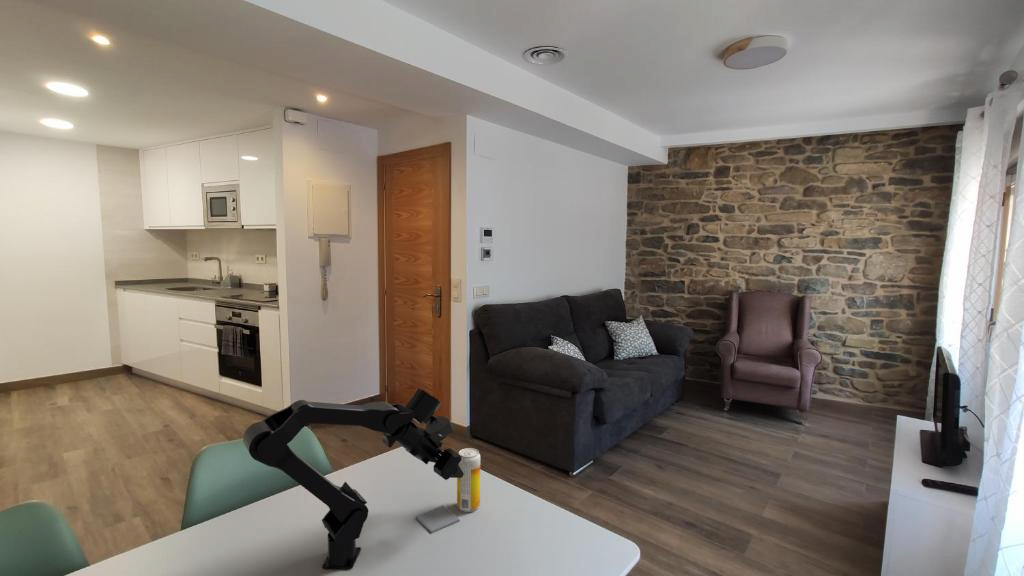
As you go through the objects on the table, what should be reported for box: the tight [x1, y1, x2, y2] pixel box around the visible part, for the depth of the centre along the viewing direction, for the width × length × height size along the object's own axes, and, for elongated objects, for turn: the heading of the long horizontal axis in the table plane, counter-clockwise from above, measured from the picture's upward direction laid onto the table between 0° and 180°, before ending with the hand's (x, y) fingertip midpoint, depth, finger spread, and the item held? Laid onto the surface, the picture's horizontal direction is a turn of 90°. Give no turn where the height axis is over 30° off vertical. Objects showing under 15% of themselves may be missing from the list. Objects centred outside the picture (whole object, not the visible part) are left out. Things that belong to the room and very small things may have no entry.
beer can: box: [456, 447, 481, 513], centre depth 123 cm, size 6×6×15 cm
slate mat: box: [415, 505, 461, 534], centre depth 117 cm, size 8×8×1 cm
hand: (452, 468), depth 119 cm, fingers open, 9 cm apart
